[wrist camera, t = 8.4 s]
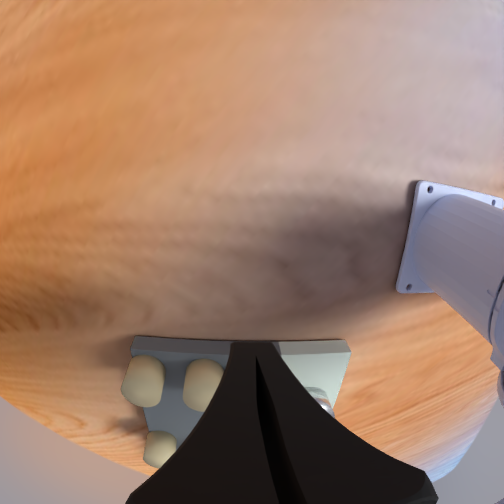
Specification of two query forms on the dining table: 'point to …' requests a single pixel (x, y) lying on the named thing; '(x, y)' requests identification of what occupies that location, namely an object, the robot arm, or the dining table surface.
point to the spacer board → (175, 380)
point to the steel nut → (321, 398)
